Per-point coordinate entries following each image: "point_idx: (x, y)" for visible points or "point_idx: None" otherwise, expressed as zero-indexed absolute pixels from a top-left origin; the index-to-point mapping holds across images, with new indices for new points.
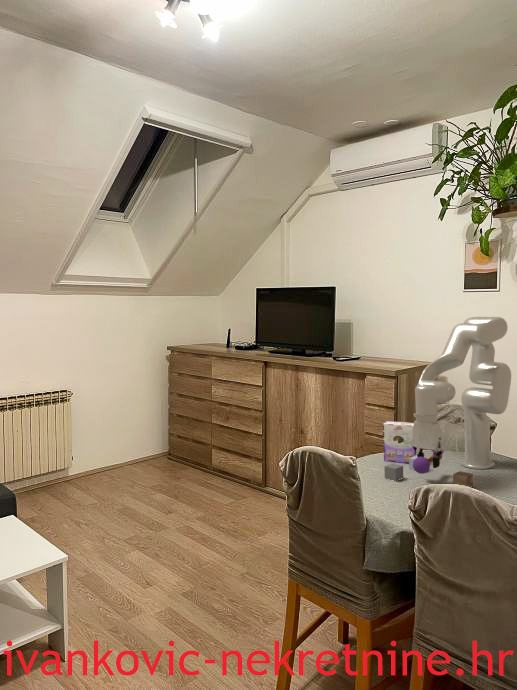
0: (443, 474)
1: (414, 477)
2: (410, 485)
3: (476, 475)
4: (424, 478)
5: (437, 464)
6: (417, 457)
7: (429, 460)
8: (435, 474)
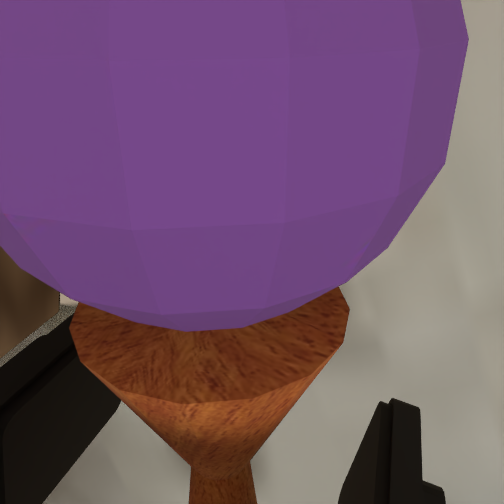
0: (256, 492)
1: (499, 371)
2: (487, 57)
3: (65, 499)
4: (380, 367)
5: (35, 343)
6: (259, 188)
7: (191, 468)
8: (316, 484)
